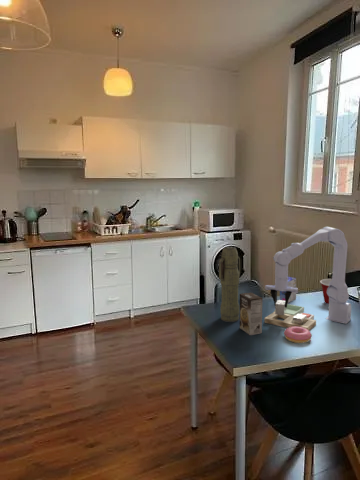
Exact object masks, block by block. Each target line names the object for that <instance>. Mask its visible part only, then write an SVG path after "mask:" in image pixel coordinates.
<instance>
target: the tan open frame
mask: <svg viewBox="0 0 360 480" xmlns="http://www.w3.org/2000/svg"><path fill="white" fill-rule="evenodd" d="M293 317H294V316H293V315H289V314H285V315H278V314H275V312H274V311H273V312H271V313H270V314H269V315H267V316H265V317H264V324H270V325H273V326H278V327H279V326H280V327H282V328H286V329H287V328H289V327H291V326H292V327H294V326H296V327H303V328H306V329H307V330H309V331H311V330H312V329H313V328H314V327H316V325H317V320H316V319H313V320H312V319H306V323H305V324H304V325H299V324H295V323H293ZM282 319H284V320H282ZM286 329H285V330H286Z"/></svg>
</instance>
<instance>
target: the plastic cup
mask: <svg viewBox="0 0 360 480" xmlns="http://www.w3.org/2000/svg"><path fill="white" fill-rule="evenodd" d="M330 281H332V278H323V279H321V280H319V283H320V285H321V290H322V296H323V302H324V303H325V304H326V305H329V296H328V295H327V288H328V287H329V283H330Z"/></svg>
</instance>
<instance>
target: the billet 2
mask: <svg viewBox="0 0 360 480" xmlns="http://www.w3.org/2000/svg"><path fill="white" fill-rule="evenodd" d="M306 319H307V315H303V314H297V315H295V316H294V317H293V323H295V324H299V325H304V324H305V323H306Z"/></svg>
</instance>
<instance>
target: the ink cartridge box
mask: <svg viewBox="0 0 360 480" xmlns="http://www.w3.org/2000/svg"><path fill="white" fill-rule="evenodd" d="M288 287H294V288H297V277H292V276H288ZM285 293H286V292H284V291H279V300H284V301H285ZM295 300H297V293H294V292H292V293H291V295H290V298H289V300H288V304H289V303H290V302H292V301H295Z"/></svg>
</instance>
